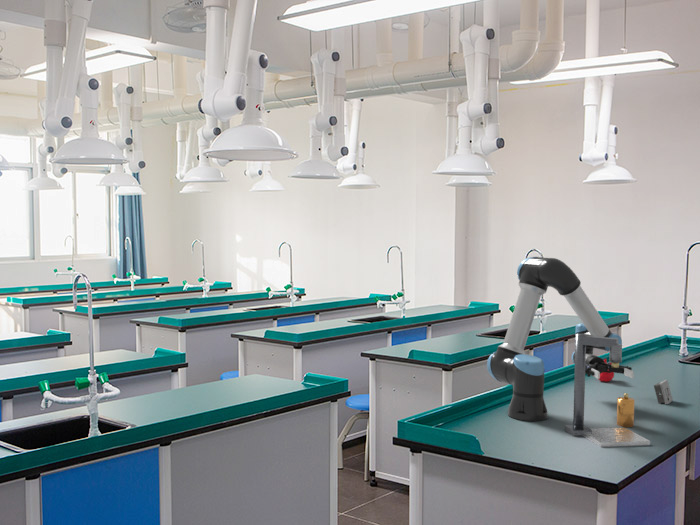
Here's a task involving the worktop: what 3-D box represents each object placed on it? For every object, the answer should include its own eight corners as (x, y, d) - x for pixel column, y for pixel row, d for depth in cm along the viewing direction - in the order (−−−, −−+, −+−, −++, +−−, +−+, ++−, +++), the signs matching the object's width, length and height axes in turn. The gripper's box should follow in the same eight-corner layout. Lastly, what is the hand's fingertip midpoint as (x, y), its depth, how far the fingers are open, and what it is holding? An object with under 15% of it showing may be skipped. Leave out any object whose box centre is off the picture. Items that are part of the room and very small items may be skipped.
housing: (622, 427, 257) (623, 395, 257) (613, 423, 263) (614, 391, 263) (636, 427, 258) (637, 395, 258) (628, 422, 264) (629, 391, 264)
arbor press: (591, 447, 233) (594, 341, 231) (564, 430, 252) (567, 332, 251) (649, 445, 236) (653, 340, 235) (619, 428, 256) (622, 332, 254)
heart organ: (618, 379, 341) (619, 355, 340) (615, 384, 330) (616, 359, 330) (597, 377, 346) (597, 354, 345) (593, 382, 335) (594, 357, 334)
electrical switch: (667, 405, 292) (665, 383, 292) (654, 404, 295) (652, 382, 295) (673, 401, 299) (671, 379, 299) (660, 400, 302) (659, 379, 302)
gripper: (621, 372, 292) (646, 384, 271) (564, 373, 291) (584, 385, 269) (622, 355, 292) (646, 365, 271) (564, 355, 290) (584, 366, 269)
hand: (615, 375), depth 270 cm, fingers open, 13 cm apart
